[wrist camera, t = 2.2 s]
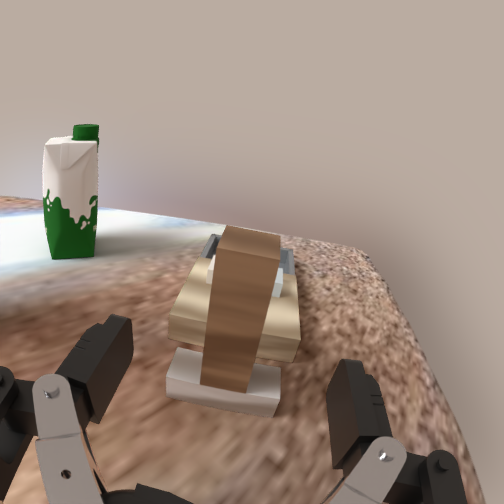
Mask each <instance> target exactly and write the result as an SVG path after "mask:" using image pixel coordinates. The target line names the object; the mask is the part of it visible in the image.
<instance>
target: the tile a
mask: <svg viewBox="0 0 504 504" xmlns="http://www.w3.org/2000/svg"><path fill="white" fill-rule="evenodd" d="M215 256H216V255H214V256H213V258H212V260H211V263H210V265H209V267H208V270H207V278H206V283H207V284H212V278H213V270H214V263H215Z"/></svg>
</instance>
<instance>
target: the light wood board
mask: <svg viewBox="0 0 504 504" xmlns="http://www.w3.org/2000/svg"><path fill="white" fill-rule="evenodd" d="M211 260H212V259H208V258H203V257H198V259H197V261H196V263H195V264H194V266H193V268H192V270H191V272H190V274H189V276H188V278H187V280H186V282H185V284H184V286H183V288H182V290H181V291H180V293H179V295H178V297H177V299H176V301H175V303H174V305H173V307H172V309H171V311H170V313H169V332H168V338H169V339H173V340H177V341H181V342H185V343H190V344H194V345H198V346H203V347H204V341H205V332H206V324H207V316H208V308H209V300H210V293H211V285H212V284H207V283H206V278H207V270H208V267H209V265H210V263H211ZM300 341H301V337H300V321H299V307H298V294H297V281H296V276H295V275H290V274H285V273H283V286H282V289H281V293H280V297H273V296H271V300H270V304H269V308H268V311H267V315H266V319H265V323H264V327H263V331H262V335H261V339H260V342H259V346H258V350H257V354H256V357H259V358H264V359H270V360H276V361H283V362H289V363H293V360H294V357H295V354H296V352H297V349H298V346H299V343H300Z"/></svg>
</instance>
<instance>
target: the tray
mask: <svg viewBox="0 0 504 504" xmlns="http://www.w3.org/2000/svg"><path fill="white" fill-rule="evenodd" d="M221 237H222V236H221V235H216V234H212V235H211V237H210V239H209V240H208V242H207V244H206V246H205V248H204V250H203V252H202V254H201V256H200V257H203V258H208V259H212V258H213V256H214V255H216V249H217V246H218V243H219V241H220V239H221ZM278 268H283V273H285V274H290V275H295V268H294V256H293V250H292V249H287V248H282V247H280V263H279V267H278Z"/></svg>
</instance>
